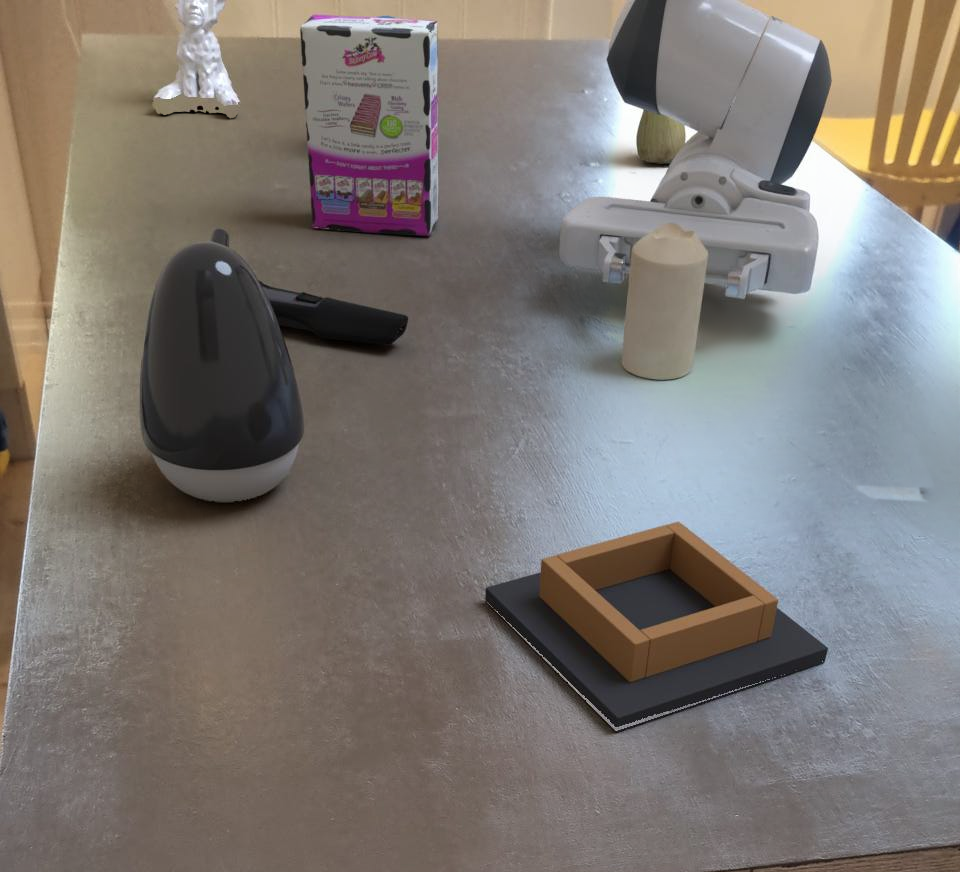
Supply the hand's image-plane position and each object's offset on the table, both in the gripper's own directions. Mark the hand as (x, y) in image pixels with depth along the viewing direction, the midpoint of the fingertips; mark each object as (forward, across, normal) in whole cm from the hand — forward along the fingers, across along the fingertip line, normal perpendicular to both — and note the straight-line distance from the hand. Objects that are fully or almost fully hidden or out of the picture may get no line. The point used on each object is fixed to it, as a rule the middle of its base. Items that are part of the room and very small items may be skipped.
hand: (673, 280), depth 103 cm
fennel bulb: (-47, -9, +6) cm, 48 cm away
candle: (+3, 0, +6) cm, 6 cm away
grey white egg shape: (+30, -24, +6) cm, 39 cm away
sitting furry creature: (-49, -60, +5) cm, 78 cm away
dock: (+39, +6, +6) cm, 40 cm away
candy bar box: (-19, -30, +6) cm, 36 cm away
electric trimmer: (+5, -27, +6) cm, 28 cm away
